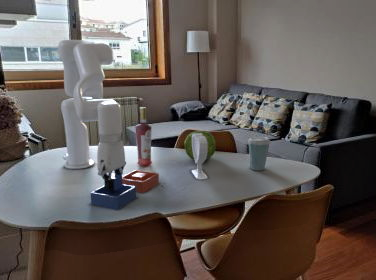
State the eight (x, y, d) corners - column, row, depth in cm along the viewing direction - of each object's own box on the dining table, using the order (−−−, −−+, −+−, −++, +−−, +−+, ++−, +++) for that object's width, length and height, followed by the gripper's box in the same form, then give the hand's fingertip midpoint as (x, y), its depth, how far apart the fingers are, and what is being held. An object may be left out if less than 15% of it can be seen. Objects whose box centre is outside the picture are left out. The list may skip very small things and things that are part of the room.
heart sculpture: (190, 169, 166) (189, 131, 162) (200, 168, 168) (200, 131, 164) (197, 180, 152) (197, 139, 148) (209, 179, 154) (209, 138, 149)
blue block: (104, 189, 127) (104, 177, 126) (112, 184, 131) (112, 173, 130) (115, 190, 125) (114, 178, 124) (122, 186, 129) (122, 175, 128)
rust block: (131, 186, 143) (131, 175, 141) (138, 182, 147) (137, 172, 146) (141, 187, 141) (140, 177, 140) (147, 184, 145) (147, 173, 144)
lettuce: (216, 158, 194) (211, 130, 195) (220, 156, 173) (215, 126, 174) (186, 163, 191) (182, 135, 192) (187, 162, 171) (182, 131, 172)
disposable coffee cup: (243, 169, 167) (244, 138, 164) (250, 163, 177) (252, 134, 174) (265, 173, 164) (266, 141, 160) (271, 166, 173) (273, 136, 170)
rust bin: (119, 188, 141) (118, 178, 140) (135, 179, 151) (135, 169, 150) (143, 193, 137) (143, 182, 136) (158, 183, 147) (158, 173, 146)
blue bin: (91, 204, 126) (90, 192, 125) (111, 193, 136) (110, 182, 135) (117, 209, 122) (117, 197, 121) (136, 197, 133) (136, 186, 132)
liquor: (144, 168, 165) (142, 109, 159) (133, 166, 169) (131, 107, 162) (155, 164, 171) (154, 107, 165) (144, 162, 175) (142, 105, 168)
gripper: (117, 132, 133) (119, 178, 137) (84, 142, 117) (88, 194, 121) (134, 134, 130) (136, 181, 134) (103, 144, 115) (107, 197, 119)
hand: (113, 186), depth 128 cm, fingers closed on blue block, 4 cm apart
